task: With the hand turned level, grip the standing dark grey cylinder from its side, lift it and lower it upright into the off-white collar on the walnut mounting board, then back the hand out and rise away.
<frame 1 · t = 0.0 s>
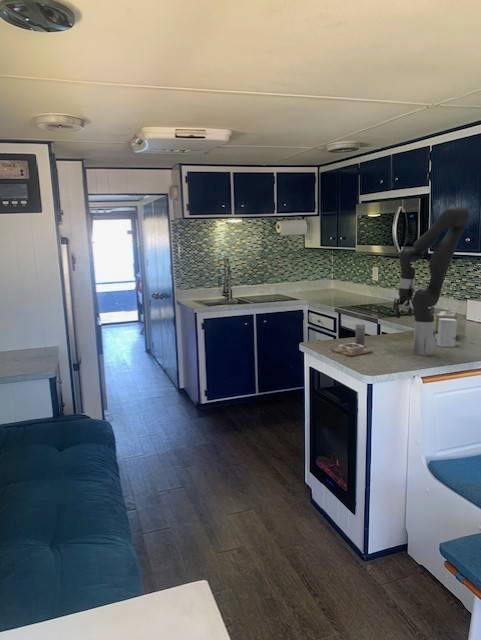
hand: (403, 316, 253), 17 cm above the worktop, tool pointing down, fingers open, 8 cm apart
coffee box: (425, 333, 292), on the worktop
skincare box: (446, 346, 260), on the worktop
tea box: (445, 338, 279), on the worktop
mount board: (351, 351, 251), on the worktop
dark grey cylinder: (359, 346, 263), on the worktop
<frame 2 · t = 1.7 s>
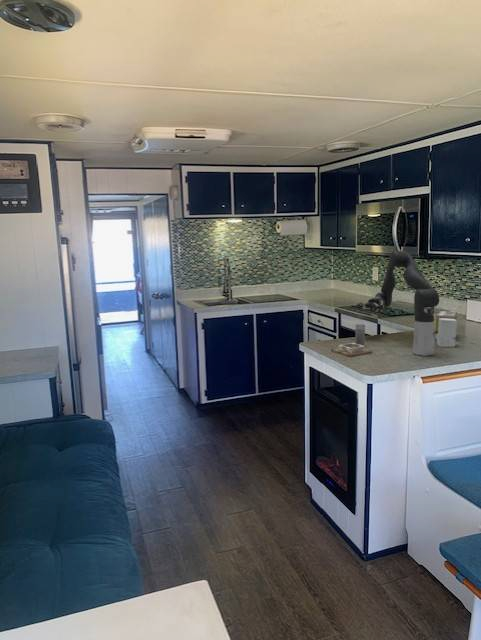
hand: (366, 308, 268), 20 cm above the worktop, tool horizontal, fingers open, 8 cm apart
nothing on the worktop moved.
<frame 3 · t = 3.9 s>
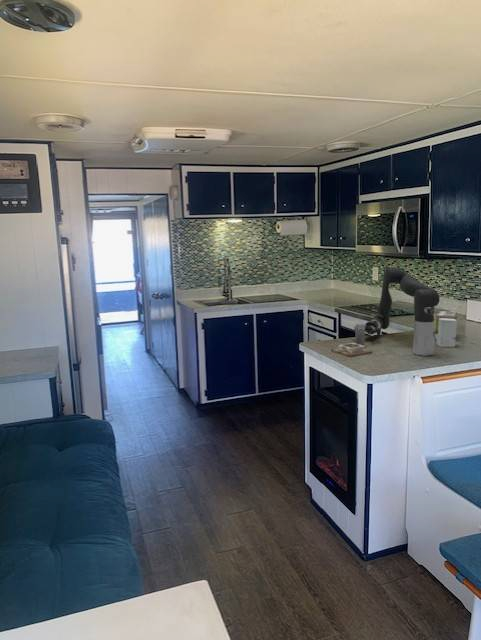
hand: (363, 331, 267), 7 cm above the worktop, tool horizontal, fingers open, 8 cm apart
nothing on the worktop moved.
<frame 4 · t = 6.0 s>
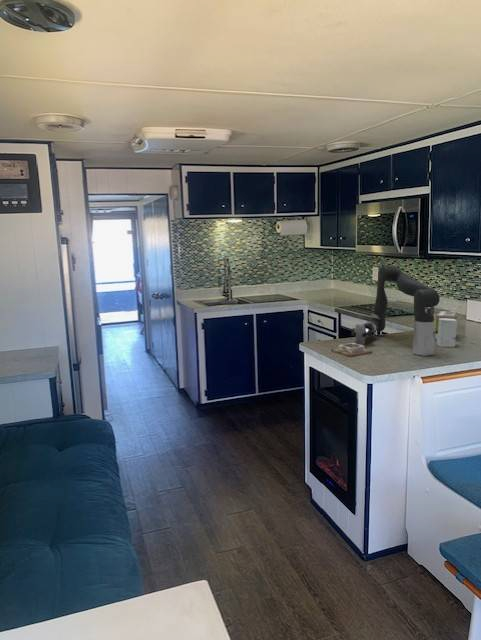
hand: (358, 334, 259), 7 cm above the worktop, tool horizontal, fingers closed on dark grey cylinder, 5 cm apart
dark grey cylinder: (359, 346, 263), on the worktop, touching gripper
everything else where it was.
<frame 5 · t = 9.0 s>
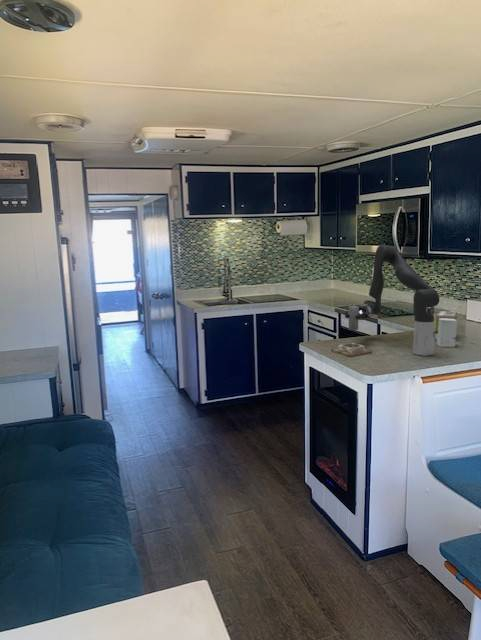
hand: (351, 316, 247), 19 cm above the worktop, tool horizontal, fingers closed on dark grey cylinder, 5 cm apart
dark grey cylinder: (353, 329, 251), point 12 cm above the worktop, touching gripper
everything else where it was.
when the fingers open (9 cm above the worktop, at t = 12.2 s): dark grey cylinder stays where it is, resting on mount board.
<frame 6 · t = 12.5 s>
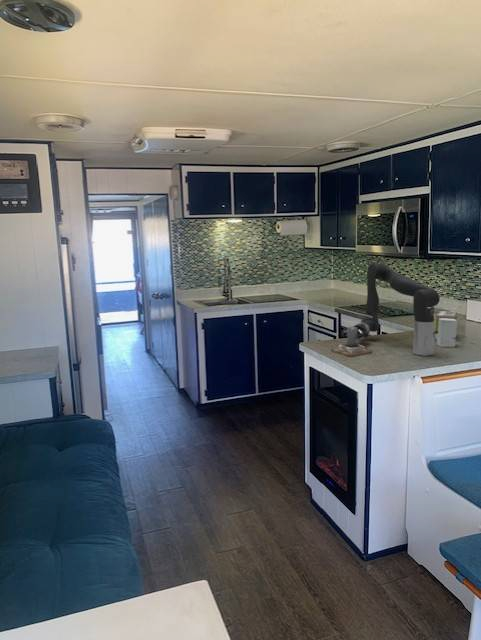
hand: (350, 336, 248), 9 cm above the worktop, tool horizontal, fingers open, 8 cm apart
dark grey cylinder: (351, 350, 251), point 1 cm above the worktop, touching mount board
everything else where it was.
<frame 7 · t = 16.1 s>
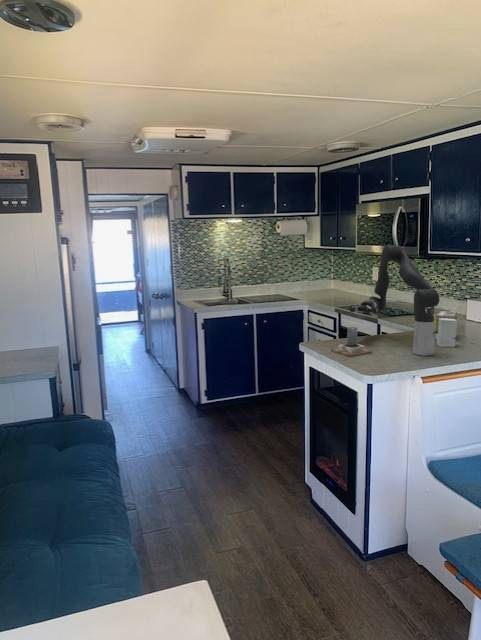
hand: (359, 310, 256), 20 cm above the worktop, tool horizontal, fingers open, 8 cm apart
nothing on the worktop moved.
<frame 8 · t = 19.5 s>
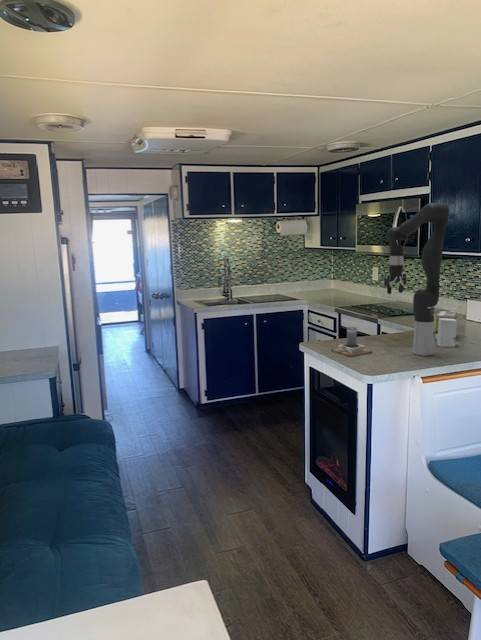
hand: (395, 293, 265), 28 cm above the worktop, tool pointing down, fingers open, 8 cm apart
nothing on the worktop moved.
at the end: dark grey cylinder 0.0 cm off-centre on the mount board, point 1.0 cm above the mount board's base; dark grey cylinder tilted 1°; the gripper is holding nothing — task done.
